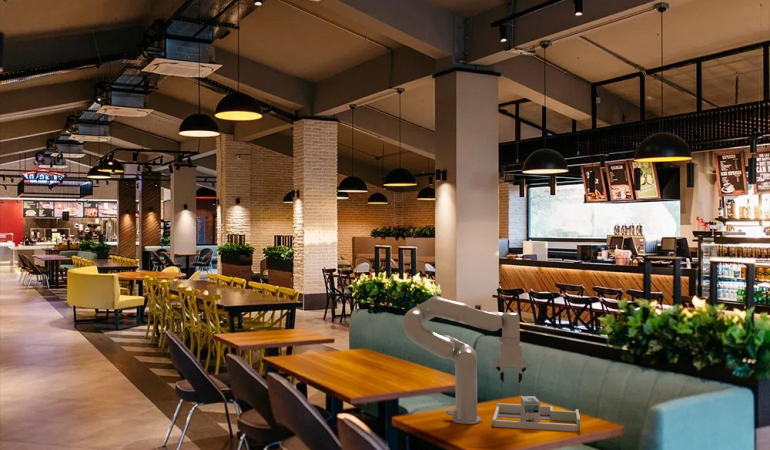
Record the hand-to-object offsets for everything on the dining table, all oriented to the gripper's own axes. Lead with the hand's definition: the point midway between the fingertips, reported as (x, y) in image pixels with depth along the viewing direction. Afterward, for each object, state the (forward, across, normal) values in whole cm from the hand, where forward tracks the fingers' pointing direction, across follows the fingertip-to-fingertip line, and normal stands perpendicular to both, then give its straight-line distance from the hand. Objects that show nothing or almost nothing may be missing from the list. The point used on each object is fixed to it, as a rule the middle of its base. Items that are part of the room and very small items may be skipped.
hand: (511, 381), depth 299 cm
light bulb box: (+18, +8, 0) cm, 20 cm away
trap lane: (+18, +11, +4) cm, 21 cm away
